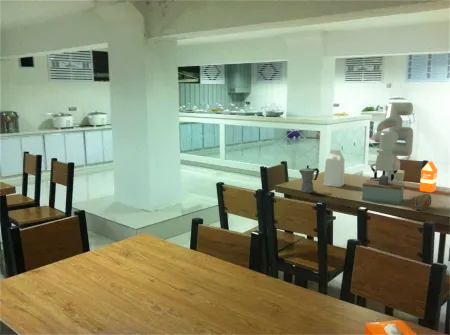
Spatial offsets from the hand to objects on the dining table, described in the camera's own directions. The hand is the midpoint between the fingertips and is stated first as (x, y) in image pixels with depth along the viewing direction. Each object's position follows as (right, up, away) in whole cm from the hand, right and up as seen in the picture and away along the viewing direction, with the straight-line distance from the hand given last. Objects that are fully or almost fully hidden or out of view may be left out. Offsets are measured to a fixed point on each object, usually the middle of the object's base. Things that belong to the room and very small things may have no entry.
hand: (383, 179), depth 262 cm
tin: (+16, -17, -18) cm, 29 cm away
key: (+15, 0, +11) cm, 18 cm away
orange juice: (+40, -8, +25) cm, 48 cm away
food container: (+3, -10, +20) cm, 23 cm away
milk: (-20, -5, +44) cm, 49 cm away
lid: (0, -4, +1) cm, 4 cm away
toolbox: (+1, -12, +4) cm, 13 cm away
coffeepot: (-42, -9, +26) cm, 50 cm away
